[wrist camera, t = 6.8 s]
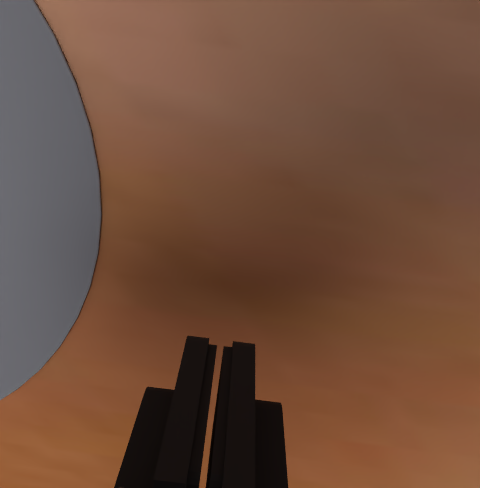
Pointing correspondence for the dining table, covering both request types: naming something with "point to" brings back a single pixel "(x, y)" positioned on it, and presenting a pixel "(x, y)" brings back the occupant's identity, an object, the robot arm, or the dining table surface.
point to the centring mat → (41, 195)
